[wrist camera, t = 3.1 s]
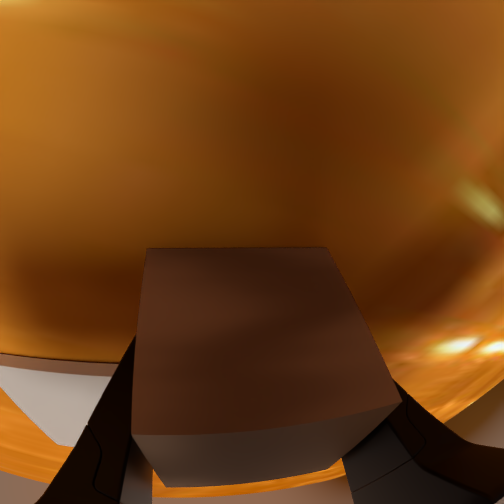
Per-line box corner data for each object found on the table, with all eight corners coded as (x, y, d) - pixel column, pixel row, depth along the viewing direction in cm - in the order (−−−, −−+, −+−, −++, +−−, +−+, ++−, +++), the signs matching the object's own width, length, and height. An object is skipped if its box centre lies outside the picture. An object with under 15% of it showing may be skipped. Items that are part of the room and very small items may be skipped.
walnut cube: (326, 247, 9) (402, 401, 5) (292, 350, 12) (327, 469, 8) (147, 248, 8) (131, 434, 4) (161, 356, 11) (165, 487, 7)
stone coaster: (202, 363, 12) (203, 376, 11) (203, 444, 18) (204, 452, 17) (-16, 351, 10) (-20, 361, 9) (58, 436, 16) (57, 444, 15)
